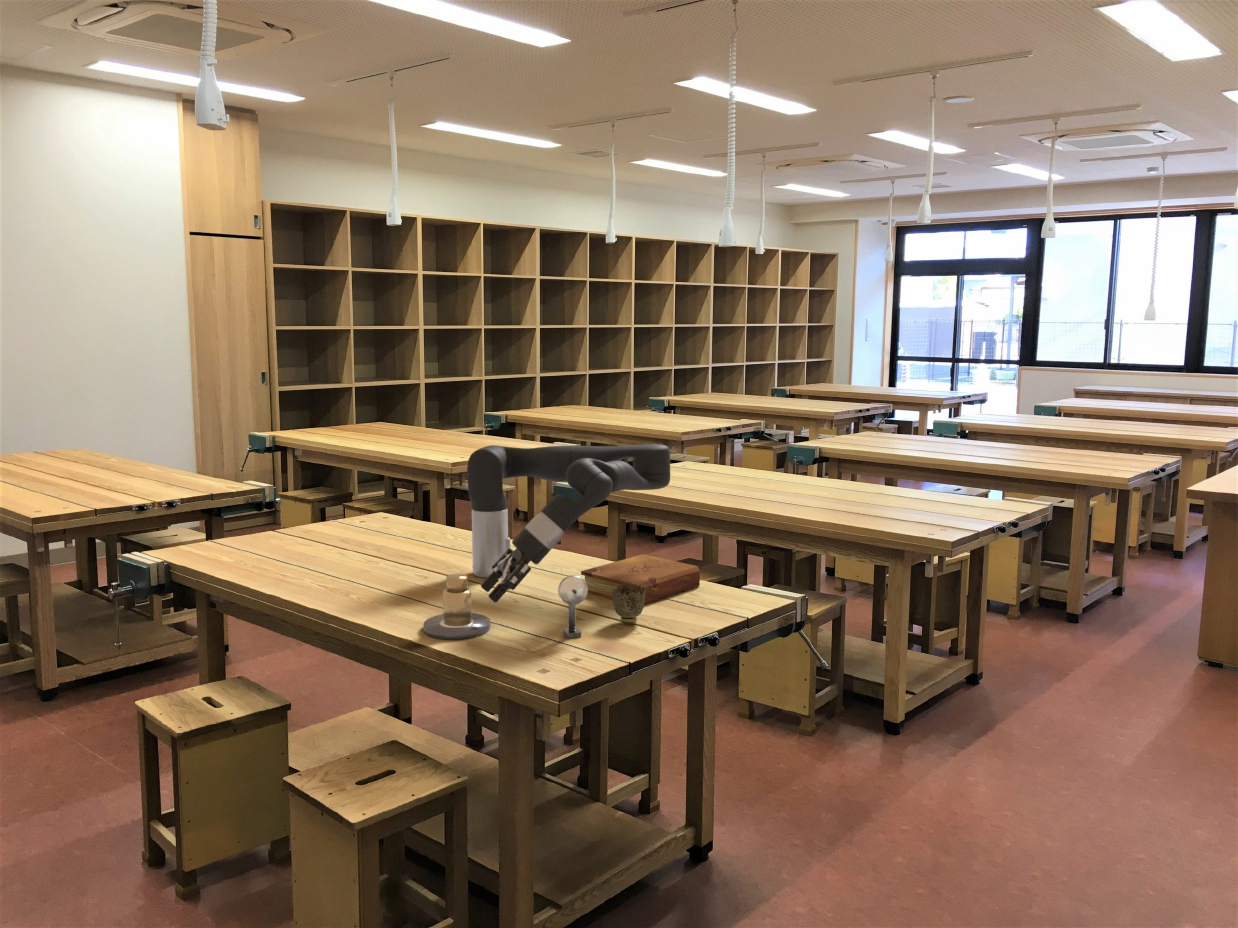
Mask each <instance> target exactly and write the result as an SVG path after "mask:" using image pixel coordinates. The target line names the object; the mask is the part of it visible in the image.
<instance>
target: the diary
mask: <svg viewBox="0 0 1238 928" xmlns="http://www.w3.org/2000/svg"><path fill="white" fill-rule="evenodd" d="M580 575H581V576H584V581H585V582H586V584H587V587H588V593H590V594H589V595H592V594H593V596H597V597H601V598H603V597H604V598H605V599H607V598H608V599H607V600H612V601H613V597H612V589H611V587H613V588H614V589H617V585H622V584H623V583H624V584H626V585H628V586H629V585H630V583H631V584H632V586H633V587H634V586H635V585H636V584H637V585H641V587H643V586H644V589H645V587H646V591H645V600H644V605H647V604H650V603H653V602H656V601H659V600H662V599H664V598H668V597H671V596H675V595H677V594H679V592H680V593H683V592H686V591H689V590H691V589H695V588H698V587H700V585H701V582H700V581H701V569H700V568H699V566H698V565H694V564H689V563H684V562H679V561H676V560H670V559H666V558H661V557H657V556H656V557H655V556H653V555H649V554H648V555H647V554H639V555H635V556H631V557H628V558H625V559H620V560H618V561H617V560H616V561H614V562H609V563H606V564H605V563H604V564H603V565H599V566H594V567H592V568H587V569H584V570H580ZM699 582H700V583H699ZM697 586H698V587H697ZM694 587H695V588H694ZM688 589H689V590H688ZM685 590H686V591H685ZM682 591H683V592H682ZM588 593H587V594H588Z"/></svg>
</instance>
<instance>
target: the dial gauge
mask: <svg viewBox="0 0 1238 928" xmlns="http://www.w3.org/2000/svg"><path fill="white" fill-rule="evenodd" d="M557 592H558V593H557V594H558V597H559V598H560V599H561V601H562V602H563V603H565V604H567V605H568V628H564V629H563V631H562V632H563V633H562V634H563V635H564V637H565V638H566V639H567V638H568V639H574V638H573V637H577V638H582V632H581V630H580V629H578V628H577V627H576V606H578V605H579V604H581V603H583V602H584V601H585V599H586V598H587V596H588V587H587V584H586V582H585V579H583V578H582V577H581V576H579V575H575V574H572V575H567V576H566V577H564V578H563V579H562V580H561V581H560V583H559V585H558V588H557Z"/></svg>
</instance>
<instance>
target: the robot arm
mask: <svg viewBox="0 0 1238 928" xmlns="http://www.w3.org/2000/svg"><path fill="white" fill-rule="evenodd" d="M629 458H632V465H630V464H629V463H628V462H625V461H623V460H624V459H629ZM466 469H467V470H466V471H467V472H466V474H467V477H466V478H467V492H468V498H469V501H470V505H471V532H472V533H471V540H472V541H471V542H472V549H471V550H472V551H471V552H472V575H473V576H475V577H478V578H485V579H484V581H483V582H482V583H481V584H480V587H481V589H482V590H484V591H485V592H487V593H488V592H489V594H488V598H489V599H490V600H491V601H492V602H493V603H497V602H498V601H500V599H501V598H502V597H503V596H504V595H505V594H506V593H507V591H514V590H515V589H516V588H517V587H518V586H519V585H520V583H521V582H522V581H523V580H524V579H525V578H526V576H527V575H528V574H529V573H530V572H531V570H532V568H531V567H530V566H529V563H530V562H531V563H533V564H534V565H539V564H540V563H541V562H542V560H543V559H545V557H546V556H547V555H548V554H549V552H551V551H552V549H553V548H554V547H555V546H556V545H557V543H559V541H560V540H561V538H562V537H563V536H564V534H565V533H566V532H567V531H568V529H569V528H570V527H572V525H573V524H574V523H575V522H576V521H578V519H579V518H580V517H581V516H583V515H584V514H586V513H587V512H589V511H590V510H591V509H593V508H595V507H596V506H597V505H599V504H601V503H602V502H604V501H606V499H608V497H609V496H610V495H611V493H616V492H620V491H651V490H660V489H665V488H666V487H667V486H669V484H670V482H671V450H670V448H669V447H668V446H667V445H664V444H658V443H650V444H649V443H647V444H644V443H643V444H631V445H629V444H627V445H615V446H614V445H613V446H611V445H610V446H604V445H603V446H601V445H600V446H596V445H595V446H594V445H552V446H540V447H538V446H537V447H532V448H531V447H530V448H527V447H524V448H522V447H514V446H512V447H511V446H504V445H494V444H492V445H487V446H486V445H485V446H483V447H481V448H478V449H476V450H474V451H473V452H472V453H471V454H470V455H469V458H468V460H467V467H466ZM519 477H520V478H521V477H529V478H537V479H541V480H544V481H549V482H556V483H567V484H568V485H569V486H570V487H571V488H572V489H573V490H574V491H575V492H576V493H578V495H580V496H581V497H579V498H576V499H572V498H569V497H568V496H566V495H564V494H560V493H558V494H555V495H554V496H553V497H552V498H551V499H550V500H549V501H548V503H546V505H545V506H543V508H542V509H541V510H540V511H539V512H538V513H537V514H536V515H535V516H533V518H531V520H530V521H528V523H527V524H526V525H525V526H524V527H523V528H522V529H521V531H520V532H519V533H518V534H517V535H516V536H515V537H514V539H513V540H511V538H510V537H509V524H508V523H509V521H508V520H509V515H508V512H509V511H508V503H509V502H508V498H507V496H506V495H505V494H504V488H503V487H504V485H503V479H507V478H509V479H510V478H519ZM511 541H512V542H511ZM511 544H512V545H513V546H514V547H515V549H514V550H513V549H512V548H511ZM498 582H499V583H498ZM497 583H498V584H497ZM496 584H497V585H496ZM494 586H495V587H494Z"/></svg>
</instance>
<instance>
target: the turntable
mask: <svg viewBox="0 0 1238 928" xmlns="http://www.w3.org/2000/svg"><path fill="white" fill-rule="evenodd" d="M471 618H472V622H471V623H470V624H468V625H464V626H448V625H445V624H444V613H442V614H437V615H433V616H431V617H429V618H427V619H425V620H424V622H423V625H422V626H423V634H424V635H425V636H427V637H429V638H432V639H437V640H442V641H443V640H444V641H460V640H469V639H472V638H477V636H478V637H480V635H481V636H483V635H485V634H487V633H488V632H489V631H490V629H491V619H490V618H489V617H488V616H486V615H484V614H482V613H481V614H480V613H475V612H471Z"/></svg>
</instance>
